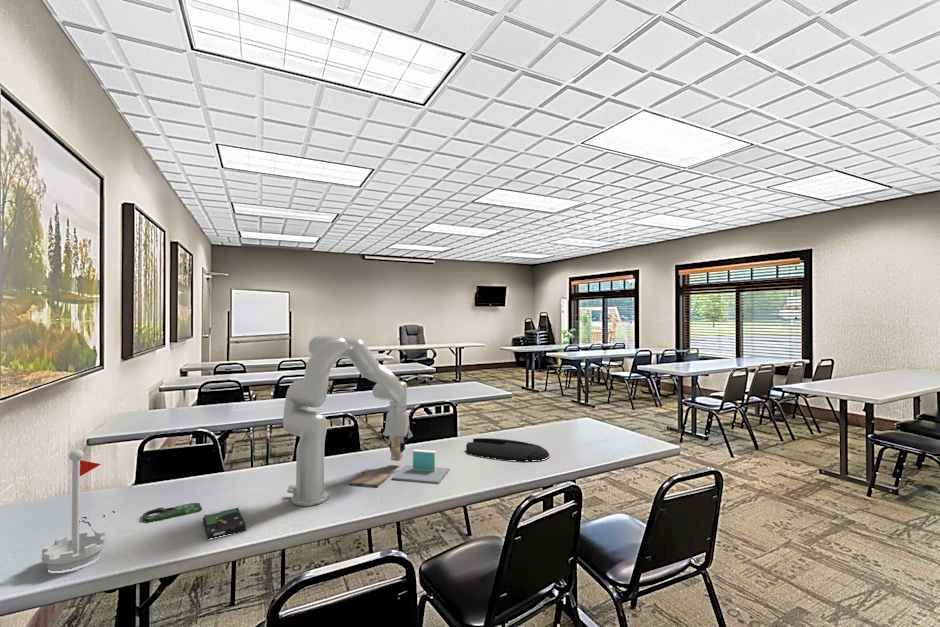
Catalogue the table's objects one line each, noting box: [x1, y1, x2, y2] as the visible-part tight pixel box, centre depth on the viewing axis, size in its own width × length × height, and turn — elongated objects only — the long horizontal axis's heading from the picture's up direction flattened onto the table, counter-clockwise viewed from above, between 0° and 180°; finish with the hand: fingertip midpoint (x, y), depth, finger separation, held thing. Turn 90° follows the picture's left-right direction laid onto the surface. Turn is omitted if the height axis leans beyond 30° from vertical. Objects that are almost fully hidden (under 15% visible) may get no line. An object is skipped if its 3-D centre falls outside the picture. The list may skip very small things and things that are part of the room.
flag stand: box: [41, 449, 108, 571], centre depth 120 cm, size 13×13×30 cm
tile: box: [412, 449, 437, 471], centre depth 190 cm, size 10×2×8 cm, turn 77°
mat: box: [391, 464, 451, 485], centre depth 187 cm, size 20×16×1 cm
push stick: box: [390, 436, 404, 462], centre depth 198 cm, size 4×4×11 cm
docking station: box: [465, 437, 550, 461], centre depth 218 cm, size 25×40×5 cm, turn 67°
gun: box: [142, 502, 203, 523], centre depth 150 cm, size 16×2×10 cm
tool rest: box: [348, 471, 391, 488], centre depth 180 cm, size 12×12×1 cm
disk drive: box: [202, 507, 247, 540], centre depth 140 cm, size 10×3×15 cm
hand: (397, 450), depth 198 cm, fingers closed on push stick, 4 cm apart
